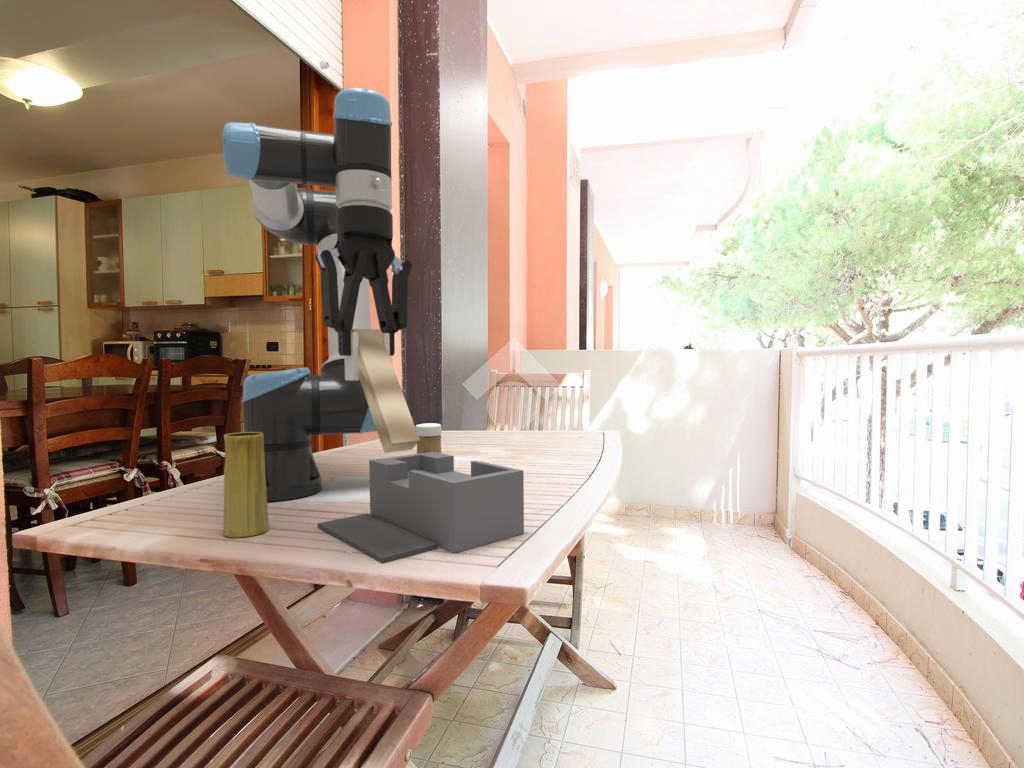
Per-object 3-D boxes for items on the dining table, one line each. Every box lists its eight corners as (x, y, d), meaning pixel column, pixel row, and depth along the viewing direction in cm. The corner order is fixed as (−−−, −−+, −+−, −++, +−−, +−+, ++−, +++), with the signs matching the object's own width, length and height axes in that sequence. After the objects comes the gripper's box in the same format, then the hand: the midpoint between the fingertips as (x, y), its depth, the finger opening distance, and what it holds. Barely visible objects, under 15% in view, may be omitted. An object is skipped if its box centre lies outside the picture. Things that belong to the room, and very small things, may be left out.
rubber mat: (317, 527, 83) (317, 523, 83) (367, 517, 88) (367, 513, 88) (382, 563, 68) (382, 558, 68) (437, 548, 73) (437, 543, 73)
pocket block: (370, 516, 88) (369, 460, 88) (434, 503, 96) (433, 451, 96) (454, 553, 71) (453, 483, 71) (523, 533, 79) (523, 470, 78)
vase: (257, 523, 85) (255, 430, 85) (277, 530, 81) (274, 433, 81) (215, 532, 81) (212, 434, 80) (234, 541, 77) (231, 437, 76)
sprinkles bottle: (434, 495, 102) (433, 422, 102) (447, 499, 99) (446, 424, 98) (411, 499, 99) (410, 424, 99) (425, 504, 96) (423, 426, 95)
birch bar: (346, 339, 78) (352, 328, 76) (372, 340, 80) (379, 329, 79) (384, 453, 70) (392, 443, 69) (411, 449, 73) (420, 440, 71)
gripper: (314, 191, 68) (318, 382, 69) (432, 215, 80) (434, 378, 80) (292, 205, 74) (296, 381, 75) (405, 225, 85) (407, 378, 86)
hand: (367, 379), depth 78 cm, fingers closed on birch bar, 4 cm apart
